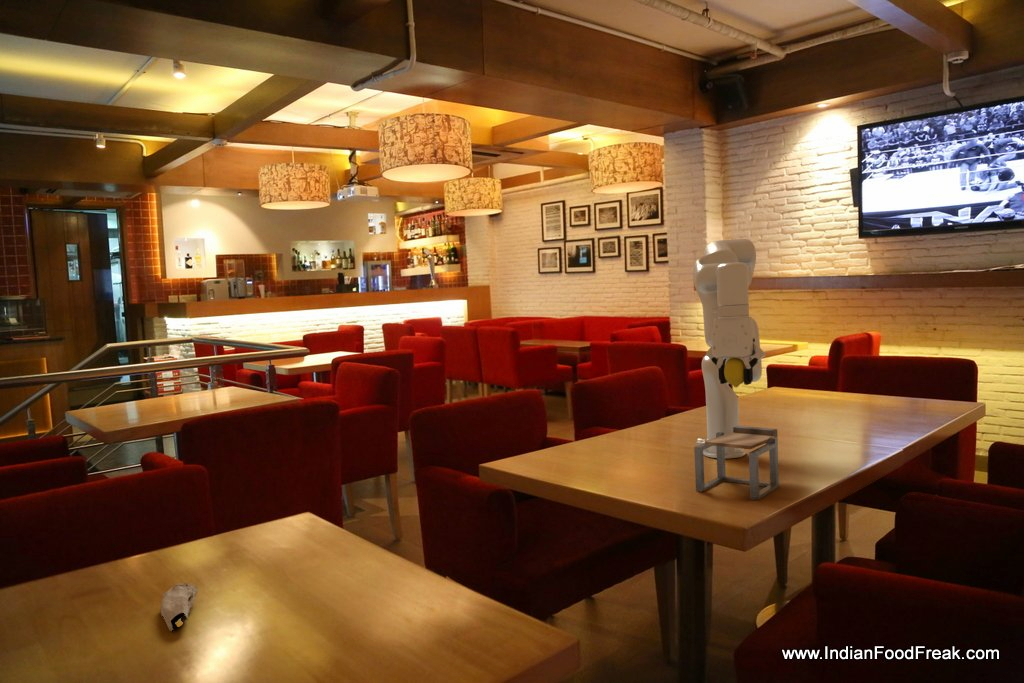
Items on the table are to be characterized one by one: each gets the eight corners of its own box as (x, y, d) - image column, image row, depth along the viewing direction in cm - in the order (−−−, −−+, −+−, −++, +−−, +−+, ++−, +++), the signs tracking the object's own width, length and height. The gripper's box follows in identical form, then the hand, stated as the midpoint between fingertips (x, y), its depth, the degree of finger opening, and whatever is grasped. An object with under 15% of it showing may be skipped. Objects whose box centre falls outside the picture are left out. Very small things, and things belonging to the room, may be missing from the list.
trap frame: (696, 491, 186) (694, 442, 185) (720, 478, 197) (718, 432, 196) (756, 500, 176) (755, 448, 175) (779, 486, 186) (777, 437, 185)
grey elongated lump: (161, 608, 133) (159, 583, 132) (198, 601, 135) (197, 577, 135) (152, 640, 120) (150, 613, 120) (194, 632, 122) (192, 605, 122)
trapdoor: (704, 450, 185) (704, 436, 185) (736, 438, 199) (735, 425, 199) (750, 455, 177) (750, 440, 177) (779, 442, 192) (779, 429, 191)
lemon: (749, 388, 180) (747, 356, 180) (725, 389, 181) (724, 357, 181) (745, 385, 185) (744, 354, 185) (723, 386, 186) (722, 355, 186)
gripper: (694, 313, 185) (697, 384, 186) (761, 312, 174) (763, 387, 175) (707, 312, 190) (710, 380, 192) (772, 310, 179) (775, 383, 181)
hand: (735, 382), depth 183 cm, fingers closed on lemon, 5 cm apart
